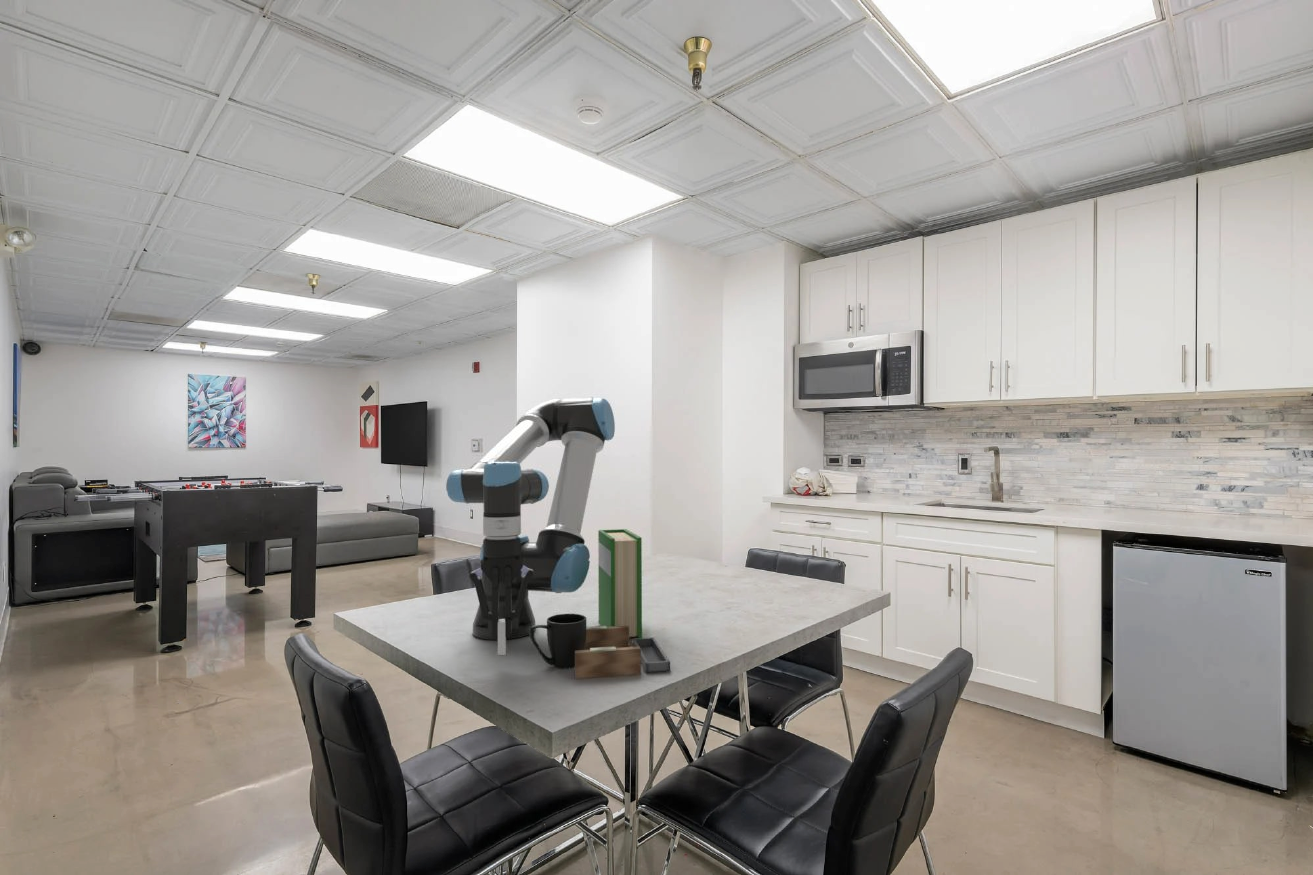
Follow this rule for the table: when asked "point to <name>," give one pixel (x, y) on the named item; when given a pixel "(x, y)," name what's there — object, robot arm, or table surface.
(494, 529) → the robot arm
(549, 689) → the table surface
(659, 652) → the tray
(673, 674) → the table surface
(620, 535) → the hardback book
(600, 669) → the lane walls
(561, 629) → the mug
